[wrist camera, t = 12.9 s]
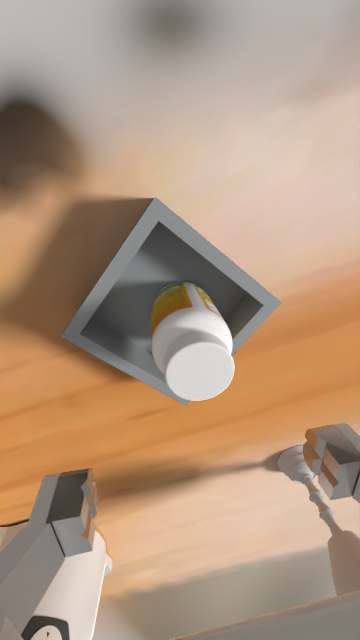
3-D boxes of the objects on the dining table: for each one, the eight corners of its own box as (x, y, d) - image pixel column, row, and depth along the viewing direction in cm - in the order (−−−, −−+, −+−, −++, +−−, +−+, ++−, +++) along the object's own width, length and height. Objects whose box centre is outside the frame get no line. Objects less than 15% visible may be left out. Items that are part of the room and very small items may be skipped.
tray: (180, 375, 28) (185, 405, 24) (75, 313, 24) (60, 336, 20) (259, 286, 25) (281, 302, 20) (154, 198, 21) (155, 196, 17)
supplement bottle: (146, 332, 24) (144, 407, 15) (156, 275, 22) (161, 323, 13) (203, 340, 25) (232, 415, 16) (217, 286, 23) (260, 337, 14)
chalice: (281, 437, 33) (410, 668, 17) (329, 440, 34) (494, 659, 18) (263, 477, 36) (359, 709, 19) (308, 478, 37) (434, 698, 21)
